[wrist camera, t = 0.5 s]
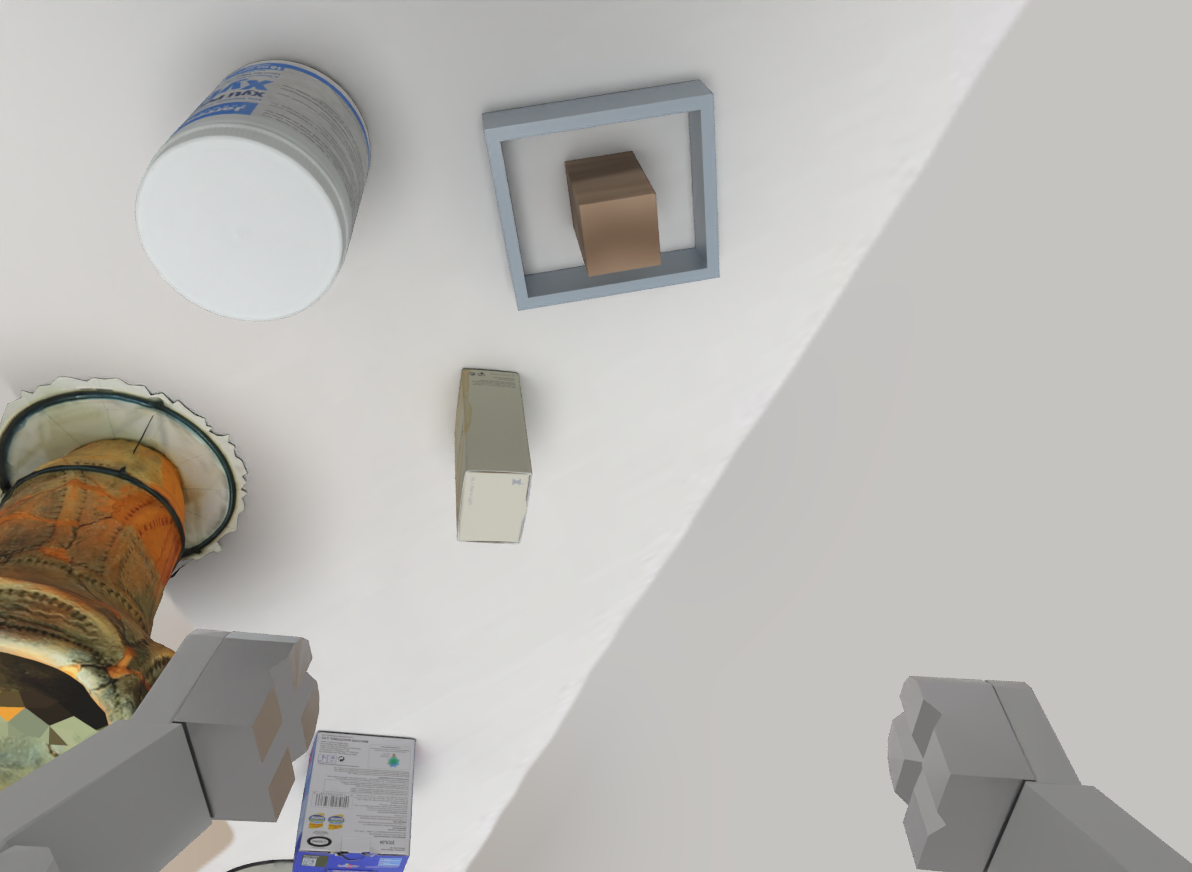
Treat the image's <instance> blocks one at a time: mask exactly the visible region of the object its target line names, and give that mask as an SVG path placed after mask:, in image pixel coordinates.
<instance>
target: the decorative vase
mask: <svg viewBox="0 0 1192 872" xmlns="http://www.w3.org/2000/svg"><path fill="white" fill-rule="evenodd" d="M21 395H22V398H20V399H17V400H15V401H13V402H11V403H8V404H7V406H6V409H5V412H4V414H3V417H2V421H1V424H0V791H2V790H3V789H5V788H7V787H8V786H10V785H12V784H13V783H15V782H17V781H18V780H20V779H22V778H23V777H25V776H26V775H28V774H30V773H31V772H33V771H35V770H36V769H38V768H40V767H41V766H43V765H45V764H46V763H48V762H49V761H51V760H53V759H54V758H56V757H58V756H59V755H61V754H63V753H64V752H66V751H68V750H69V749H71V748H73V747H74V746H76V745H77V744H79V743H81V742H82V741H84V740H86V739H87V738H89V737H91V736H92V735H94V734H96V733H97V732H99V731H101V730H102V729H104V728H105V727H107V726H109V725H110V724H112V723H114V722H115V721H117V720H119V719H120V720H130V719H131V717H132V716H133V714H134V713H135V711H136V710H137V708H138V707H139V705H140V704H141V703H142V701H143V700H144V698H145V697H146V695H147V694H148V692H149V691H150V689H151V688H152V686H153V685H154V683H155V682H156V680H157V679H158V678H159V676H160V675H161V673H162V672H163V670H164V669H165V667H166V666H167V664H168V663H169V661H170V660H171V658H172V657H173V656H174V654H175V653H176V652H174V651H173V650H171V649H169V648H167V647H165V646H164V645H162V644H159V643H156V642H154V641H153V640H152V639H151V638H150V635H151V631H152V626H153V619H154V616H155V613H156V611H157V608H158V606H159V604H160V601H161V599H162V596H163V591H164V588H165V585H166V584H167V582H168V580H169V579H170V578H172V577H174V576H175V574H176V573H177V572H178V571H179V569H180V568H179V569H178V570H177V571H176V572H175V573H174V574H173V575H172V576H171V574H172V573H173V571H174V569H175V567H176V565H177V564H178V562H179V561H180V560H186V559H194V560H200V559H201V558H202V557H204V556H205V555H207V554H208V553H210V552H212V551H215V552H217V553H219V552H220V551H221V549H222V548H221V547H220V545H219V544H218V542H217V541H218V540H219V539H221V538H222V537H223V536H224V535H225V534H227V533H230V532H233V531H236V530H237V520H238V514H239V513H241V512H242V511H244V502H243V500H242V498H243V497H244V496H245V495H246V494H248V493H246V492H244V491H242V490H241V489H242V487H243V486H244V485H245V484H246V482H245V480H244V479H243V477H242V476H243V475H245V474H247V472H246V470H245V468H244V465H243V463H242V461H241V460H240V459H238V458H237V457H235V454H234V448H235V446H233V445H231V444H230V443H228V439H229V435H226V436H216V435H214V434H213V433H211V432H209V431H210V429H211V428H212V427H208V426H206V422H205V419H204V418H202V417H199V416H196V415H194V414H193V413H191V412H190V411H189V410H188V409H186V408H185V407H184V406H183V405H182V404H181V403H180V402H179V401H177V402H175V403H173V404H172V403H171V402H170V401H169V400H168V399H167V398H166V397H165V396H164V394H163V393H162V394H156V395H150V393H149V392H148V391H147V389H146V388H145V387H144V386H135V385H128V384H126V383H124V382H123V381H121V380H120V379H118V378H114V379H98V378H92V379H90V380H89V381H87V382H86V381H82V380H78V379H74V378H70V377H58V378H57V379H56V380H55V381H54V382H53V383H52V384H51V385H45V386H38V387H37V388H36V390H35V392H34V393H33V394H31V393H28V392H25V391H22V390H21ZM190 561H191V560H190ZM187 563H188V562H187ZM183 566H184V565H183ZM183 566H182V567H183ZM170 576H171V577H170Z"/></svg>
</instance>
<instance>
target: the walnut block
mask: <svg viewBox="0 0 1192 872" xmlns="http://www.w3.org/2000/svg"><path fill="white" fill-rule="evenodd" d="M565 169H566V176H567V183H568V191H569V198H570V205H571V212H572V220H573V227H574V230H575V233H576V237H577V240H578V243H579V247H580V250H581V253H582V257H583V260H584V263H585V267H586V270H587V273H588V277H590V276H596V275H602V274H608V273H614V272H620V271H626V270H632V269H638V268H644V267H650V266H656V265H661V257H660V244H659V231H658V217H657V204H656V193H655V191H654V189H653V188H652V186H651V184H650V182H649V180H648V179H647V177H646V175H645V173H644V171H643V170H642V168H641V166H640V164H639V163H638V161H637V159H636V157H635V155H634V154H633V152H632V151H628V152H622V153H616V154H609V155H603V156H597V157H591V158H584V159H578V160H572V161H566V162H565Z"/></svg>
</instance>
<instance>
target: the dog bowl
mask: <svg viewBox="0 0 1192 872" xmlns="http://www.w3.org/2000/svg"><path fill="white" fill-rule="evenodd" d="M293 861H294V860H293V859H289V860H268V861H262V862H256V863H251V864H247V865H243V866H240V867H237V868H234V869H232V870H229V871H227V872H292V869H293Z"/></svg>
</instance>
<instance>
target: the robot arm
mask: <svg viewBox="0 0 1192 872" xmlns="http://www.w3.org/2000/svg"><path fill="white" fill-rule="evenodd" d="M311 660H312V654H311V650H310V646H309V641H308V640H306V639H304V638H302V637H292V636H280V635H269V634H258V633H247V632H236V631H233V632H227V631H216V630H205V629H196V630H195V631H193V632H192V633H190V634H189V635H188V636H187V637H186V638H185V639H184V641H183V642H182V644H181V645H180V647H179V648H178V650H177V651H176V653H175V654H174V656H173V657H172V658H171V660H170V661H169V663H168V664H167V666H166V667H165V669H164V670H163V672H162V673H161V675H160V676H159V678H158V679H157V680H156V682H155V683H154V685H153V686H152V688H151V689H150V691H149V692H148V694H147V695H146V697H145V698H144V700H143V701H142V703H141V704H140V705H139V707H138V708H137V710H136V711H135V713H134V714H133V716H132V717H131V719H130V720H120V719H119V720H117V721H115V722H114V723H112V724H110V725H109V726H107V727H105V728H104V729H102V730H101V731H99V732H97V733H96V734H94V735H92V736H91V737H89V738H87V739H86V740H84V741H82V742H81V743H79V744H77V745H76V746H74V747H73V748H71V749H69V750H68V751H66V752H64V753H63V754H61V755H59V756H58V757H56V758H54V759H53V760H51V761H49V762H48V763H46V764H45V765H43V766H41V767H40V768H38V769H36V770H35V771H33V772H31V773H30V774H28V775H26V776H25V777H23V778H22V779H20V780H18V781H17V782H15V783H13V784H12V785H10V786H8V787H7V788H5V789H3V790H2V791H0V872H159V871H160V870H161V869H162V868H163V867H165V866H166V865H167V864H168V863H169V862H170V861H171V860H172V859H173V858H175V857H176V856H177V855H178V854H179V853H180V852H181V851H182V850H183V849H184V848H185V847H187V846H188V845H189V844H190V843H191V842H192V841H193V840H194V839H195V838H196V837H198V836H199V835H200V834H201V833H202V832H203V831H204V830H206V829H207V828H208V827H209V826H210V825H211V824H212V820H234V821H257V822H277V819H278V817H279V815H280V813H281V810H282V808H283V806H284V803H285V801H286V799H287V797H288V794H289V792H290V790H291V787H292V785H293V783H294V781H295V776H294V771H293V766H292V762H293V761H295V760H296V759H297V758H299V757H300V756H301V755H303V754H304V753H305V752H306V751H307V750H308V748H309V745H310V743H311V740H312V738H313V736H314V733H315V728H316V724H317V719H318V714H319V691H318V685H317V681H316V680H315V679H314V678H312V677H311V676H310V675H309V674H308V673H307V672H306V671H307V669H308V667H309V664H310V662H311ZM900 699H901V702H902V706H903V709H904V712H903V713H901V714H900V715H899V716H897V717H896V718H895V719H893V721H892V725H891V729H890V733H889V738H888V763H889V771H890V776H891V780H892V784H893V788H894V791H895V793H896V794H898V795H899V797H900V798H902V799H903V800H904V801H905V802H906V803H907V804H908V808H907V811H906V814H905V818H904V821H903V823H904V827H905V830H906V834H907V837H908V840H909V844H910V847H911V851H912V854H913V858H914V861H915V864H916V868H917V869H922V870H932V871H943V872H1192V864H1191V863H1190V862H1189V861H1187V860H1186V859H1185V858H1184V857H1182V856H1181V855H1180V854H1179V853H1177V852H1176V851H1175V850H1173V849H1172V848H1171V847H1170V846H1169V845H1167V844H1166V843H1165V842H1164V841H1162V840H1161V839H1159V838H1158V837H1157V836H1156V835H1155V834H1153V833H1152V832H1151V831H1149V830H1148V829H1147V828H1146V827H1144V826H1143V825H1142V824H1141V823H1139V822H1138V821H1137V820H1136V819H1134V818H1133V817H1132V816H1131V815H1129V814H1128V813H1127V812H1126V811H1124V810H1123V809H1122V808H1120V807H1119V806H1118V805H1117V804H1115V803H1114V802H1113V801H1112V800H1110V799H1109V798H1108V797H1106V796H1105V795H1104V794H1103V793H1102V792H1100V791H1099V790H1098V789H1096V788H1095V787H1094V786H1084V785H1081V783H1080V781H1079V779H1078V777H1077V775H1076V773H1075V771H1074V769H1073V767H1072V766H1071V764H1070V761H1069V760H1068V758H1067V756H1066V754H1065V752H1064V750H1063V748H1062V746H1061V744H1060V742H1059V740H1058V738H1057V736H1056V734H1055V732H1054V731H1053V729H1052V727H1051V725H1050V723H1049V721H1048V719H1047V717H1046V715H1045V713H1044V711H1043V709H1042V707H1041V705H1040V703H1039V701H1038V700H1037V698H1036V696H1035V694H1034V692H1033V690H1032V688H1031V687H1030V686H1028V685H1027V684H1026V683H1025V682H1013V681H994V680H985V681H983V680H974V679H956V678H937V677H919V676H909V677H908V678H907V679H906V681H905V682H904V684H903V687H902V690H901V694H900Z"/></svg>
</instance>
